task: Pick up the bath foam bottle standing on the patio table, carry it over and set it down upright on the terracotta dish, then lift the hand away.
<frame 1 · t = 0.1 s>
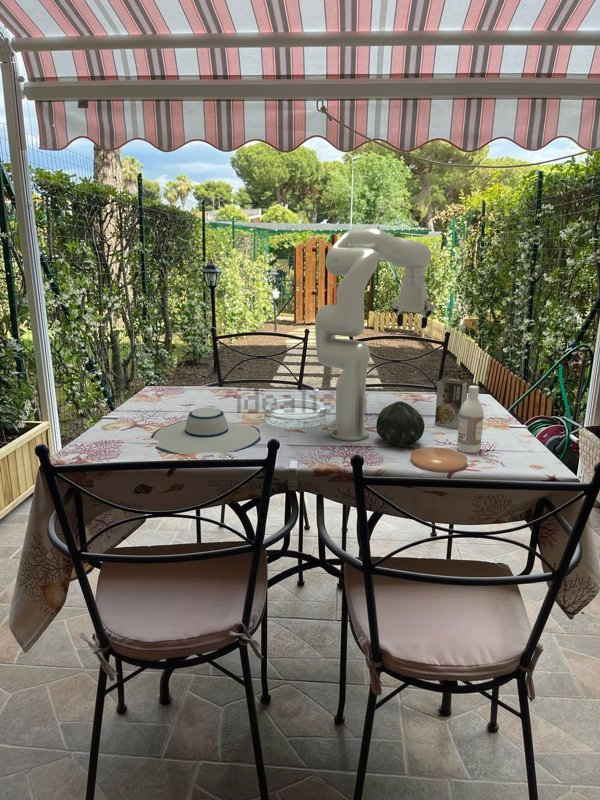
hand: (411, 326, 211), 31 cm above the table, tool pointing down, fingers open, 9 cm apart
bath foam: (468, 450, 170), on the table
squash: (399, 443, 176), on the table
sun hat: (206, 438, 182), on the table
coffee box: (449, 425, 195), on the table
terracotta dish: (438, 461, 160), on the table
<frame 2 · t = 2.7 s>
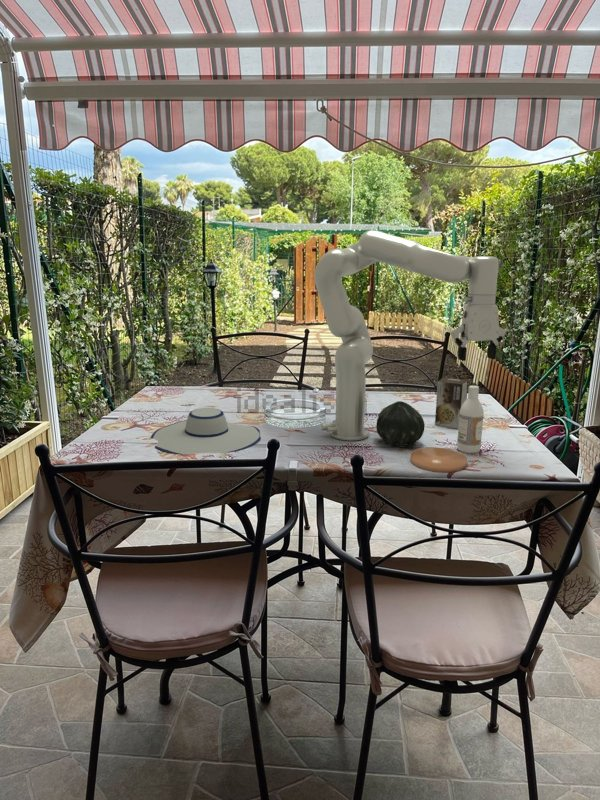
hand: (476, 359, 163), 28 cm above the table, tool pointing down, fingers open, 9 cm apart
nothing on the table moved.
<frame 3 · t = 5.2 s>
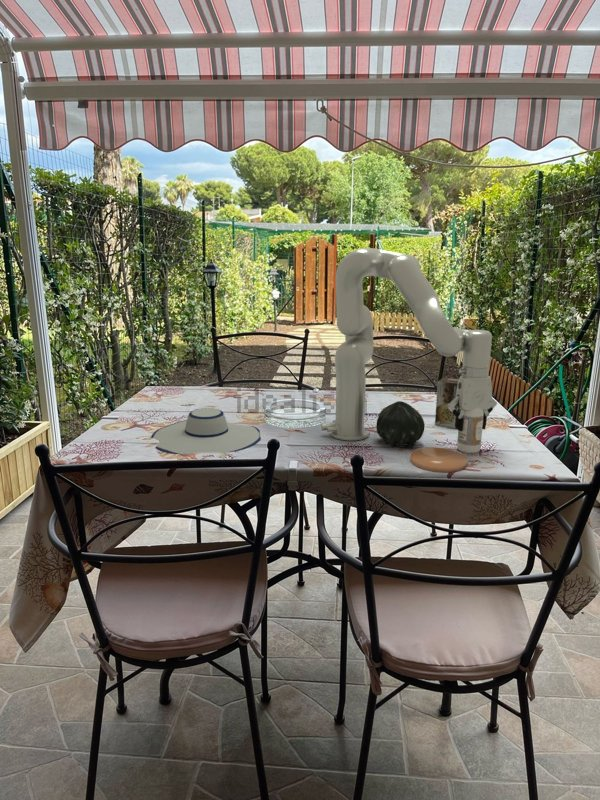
hand: (470, 428, 169), 7 cm above the table, tool pointing down, fingers closed on bath foam, 7 cm apart
bath foam: (468, 450, 170), on the table, touching gripper
everything else where it was.
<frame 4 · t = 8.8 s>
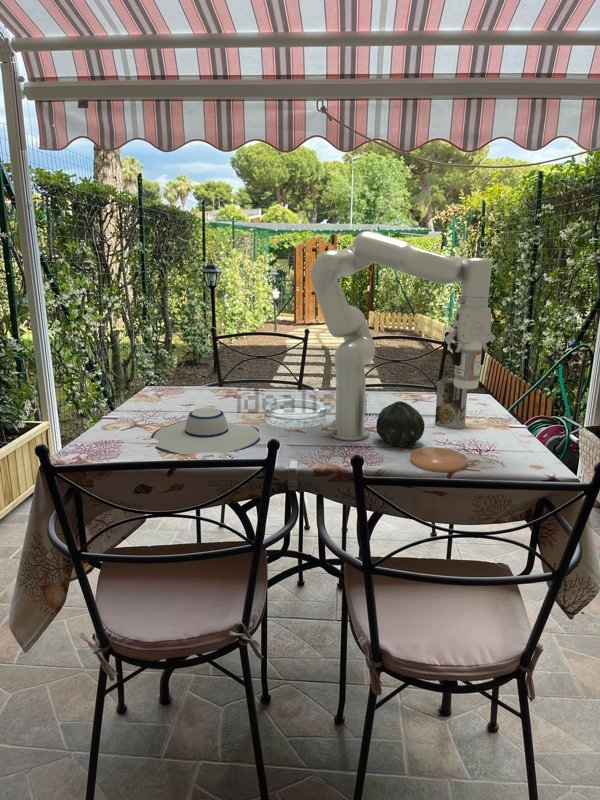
hand: (467, 364, 161), 27 cm above the table, tool pointing down, fingers closed on bath foam, 7 cm apart
bath foam: (465, 387, 163), point 20 cm above the table, touching gripper
everything else where it was.
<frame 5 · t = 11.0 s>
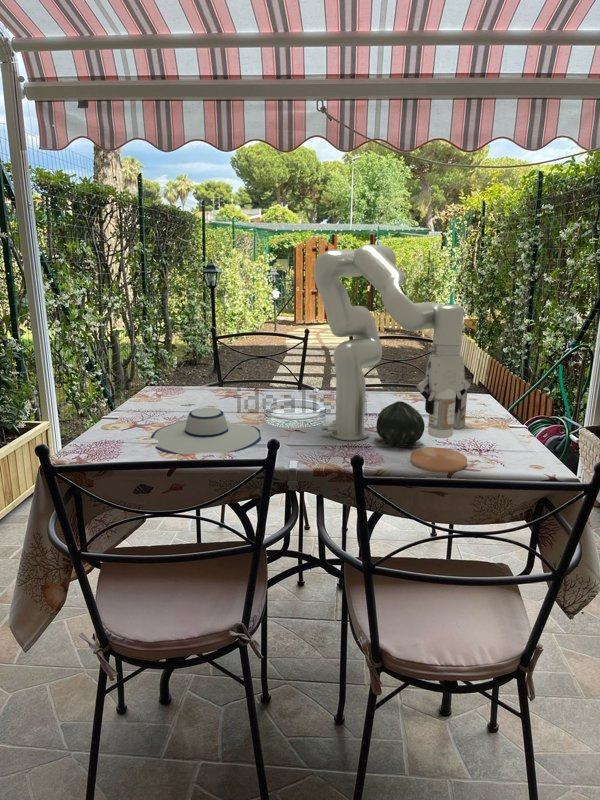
hand: (441, 411, 157), 15 cm above the table, tool pointing down, fingers closed on bath foam, 7 cm apart
bath foam: (440, 435, 158), point 8 cm above the table, touching gripper
everything else where it was.
when the fingers open (9 cm above the table, at t = 12.7 s): bath foam stays where it is, resting on terracotta dish.
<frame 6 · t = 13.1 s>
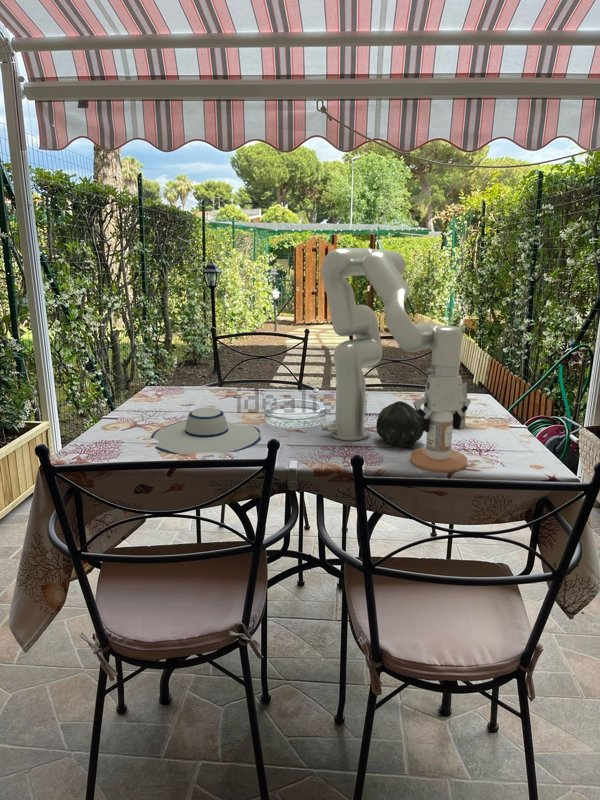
hand: (440, 429, 158), 10 cm above the table, tool pointing down, fingers open, 9 cm apart
bath foam: (437, 457, 160), point 1 cm above the table, touching terracotta dish
everything else where it was.
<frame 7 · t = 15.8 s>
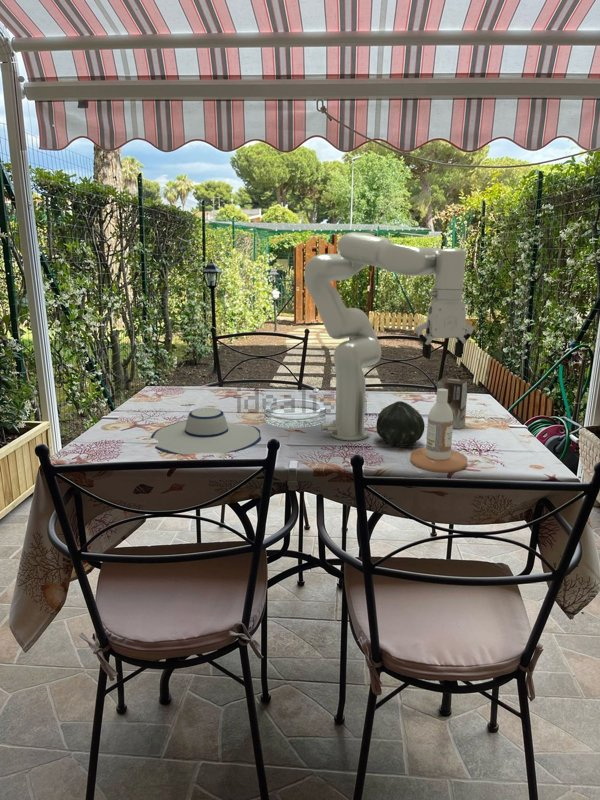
hand: (442, 357, 155), 30 cm above the table, tool pointing down, fingers open, 9 cm apart
nothing on the table moved.
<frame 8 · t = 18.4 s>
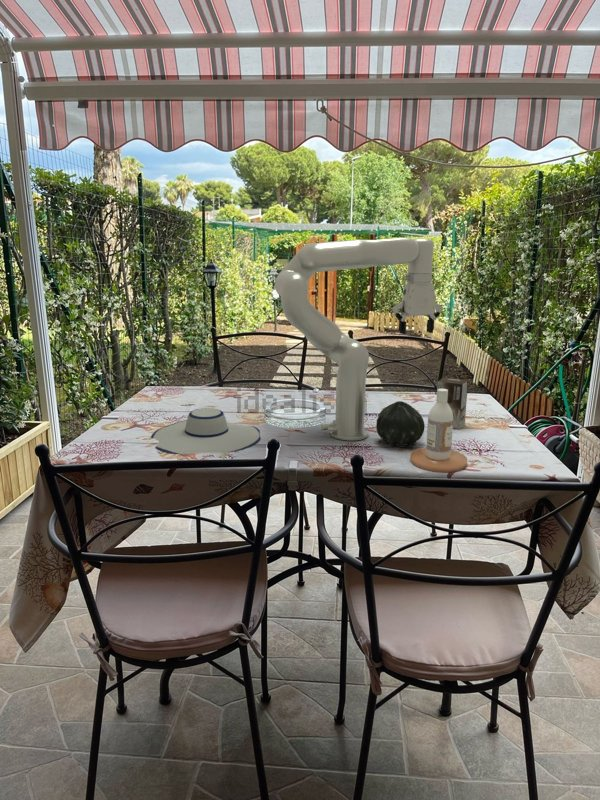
hand: (416, 332, 180), 33 cm above the table, tool pointing down, fingers open, 9 cm apart
nothing on the table moved.
at the end: bath foam inside the target area on the terracotta dish (0.1 cm from its centre), point 1.3 cm above the terracotta dish's base; bath foam tilted 0°; the gripper is holding nothing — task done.
